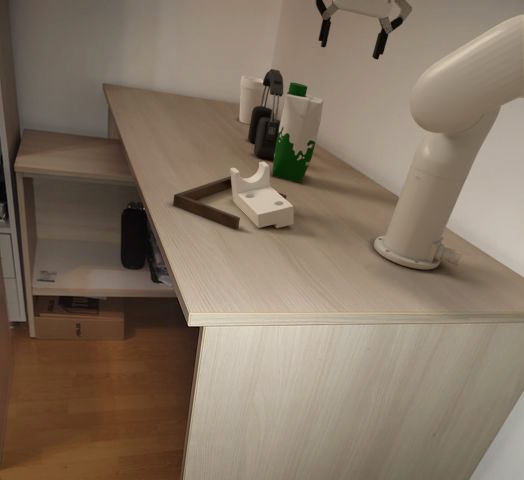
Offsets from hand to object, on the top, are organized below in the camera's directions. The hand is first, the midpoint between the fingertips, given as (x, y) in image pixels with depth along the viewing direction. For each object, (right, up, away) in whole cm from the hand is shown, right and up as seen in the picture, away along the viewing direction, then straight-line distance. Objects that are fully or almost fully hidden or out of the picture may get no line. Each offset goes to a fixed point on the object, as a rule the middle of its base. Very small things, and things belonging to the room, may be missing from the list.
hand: (349, 52), depth 87 cm
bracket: (-16, -27, +8) cm, 33 cm away
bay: (-22, -24, +9) cm, 34 cm away
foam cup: (-20, +24, +79) cm, 85 cm away
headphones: (-16, +3, +51) cm, 53 cm away
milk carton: (-9, -10, +34) cm, 36 cm away
